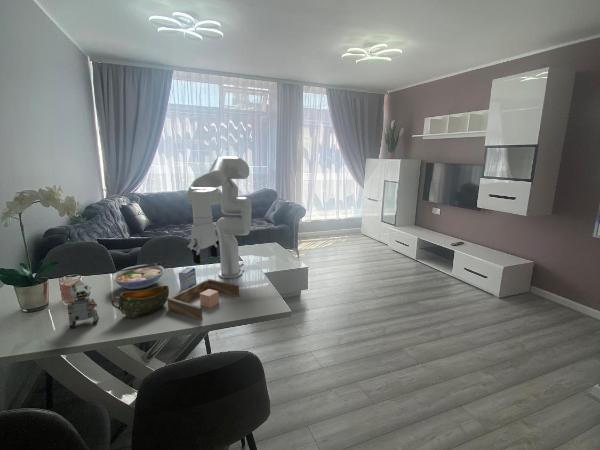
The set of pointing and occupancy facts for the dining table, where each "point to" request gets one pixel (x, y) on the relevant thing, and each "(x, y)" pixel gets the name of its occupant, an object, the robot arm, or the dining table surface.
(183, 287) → the medicine box
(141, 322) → the dining table surface
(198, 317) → the wooden open frame
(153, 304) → the cup
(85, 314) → the figurine
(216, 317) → the dining table surface
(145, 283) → the ramen bowl
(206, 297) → the terracotta block
